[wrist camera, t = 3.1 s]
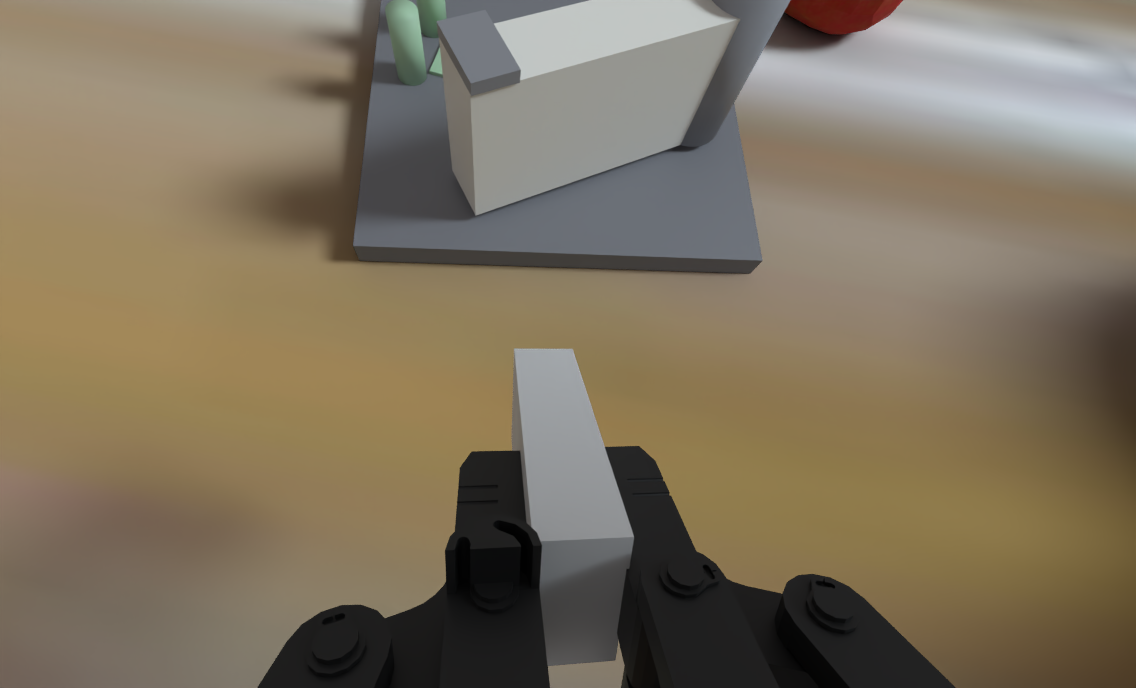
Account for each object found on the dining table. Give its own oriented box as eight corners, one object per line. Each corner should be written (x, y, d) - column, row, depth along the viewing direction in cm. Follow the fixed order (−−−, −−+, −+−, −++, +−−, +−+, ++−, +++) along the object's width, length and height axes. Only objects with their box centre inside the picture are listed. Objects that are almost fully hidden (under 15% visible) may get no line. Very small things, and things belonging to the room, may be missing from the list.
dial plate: (704, 8, 38) (738, -75, 33) (750, 273, 31) (801, 220, 26) (390, -24, 35) (373, -121, 30) (359, 260, 28) (330, 197, 23)
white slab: (696, 85, 33) (767, -72, 24) (731, 135, 32) (817, -11, 23) (448, 162, 28) (431, 4, 20) (479, 223, 27) (474, 82, 19)
